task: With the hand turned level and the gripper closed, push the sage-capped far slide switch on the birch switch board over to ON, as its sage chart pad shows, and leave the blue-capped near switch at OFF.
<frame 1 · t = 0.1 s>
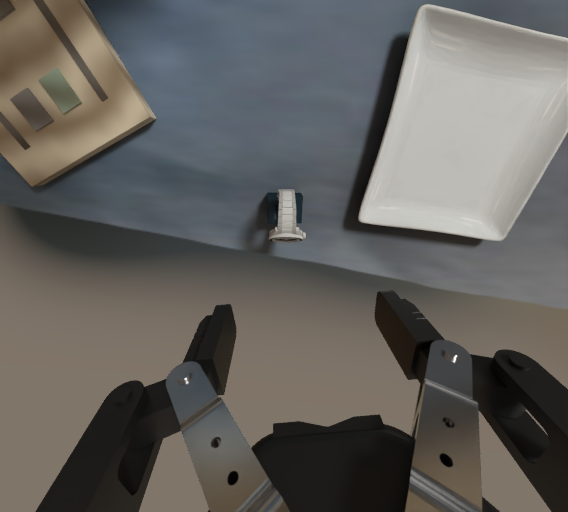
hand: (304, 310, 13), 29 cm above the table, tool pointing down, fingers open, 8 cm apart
watch: (284, 205, 40), on the table
switch board: (29, 62, 30), on the table
square plate: (453, 146, 37), on the table
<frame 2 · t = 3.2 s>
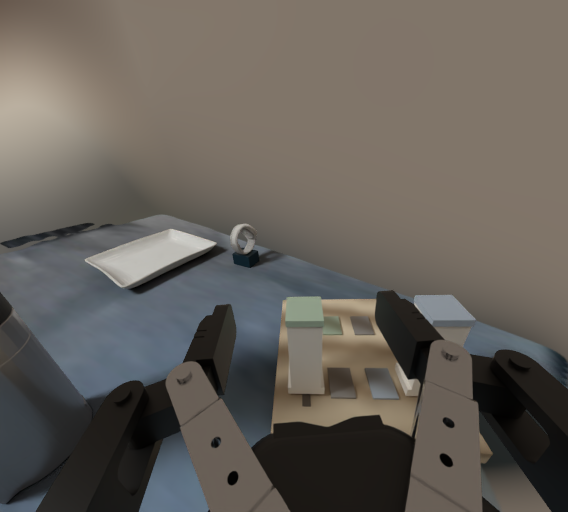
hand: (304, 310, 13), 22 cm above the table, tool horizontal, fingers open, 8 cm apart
watch: (247, 262, 64), on the table
switch board: (351, 360, 35), on the table
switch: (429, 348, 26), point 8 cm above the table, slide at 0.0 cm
square plate: (156, 261, 70), on the table
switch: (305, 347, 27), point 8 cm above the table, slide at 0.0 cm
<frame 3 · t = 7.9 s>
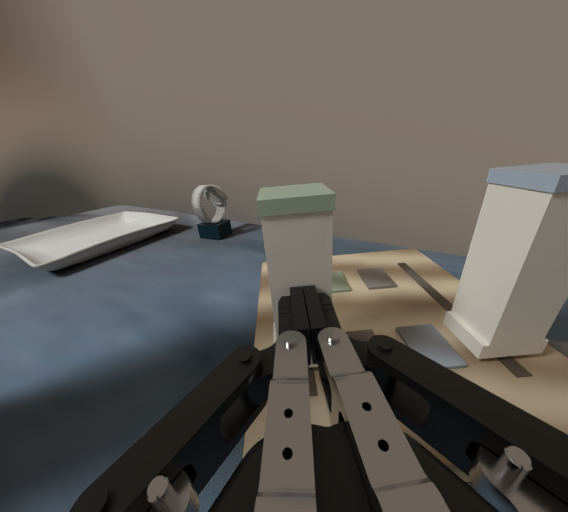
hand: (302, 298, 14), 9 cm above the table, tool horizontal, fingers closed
watch: (216, 236, 52), on the table
switch board: (368, 324, 23), on the table
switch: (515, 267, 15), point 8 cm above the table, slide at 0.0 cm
square plate: (100, 244, 54), on the table
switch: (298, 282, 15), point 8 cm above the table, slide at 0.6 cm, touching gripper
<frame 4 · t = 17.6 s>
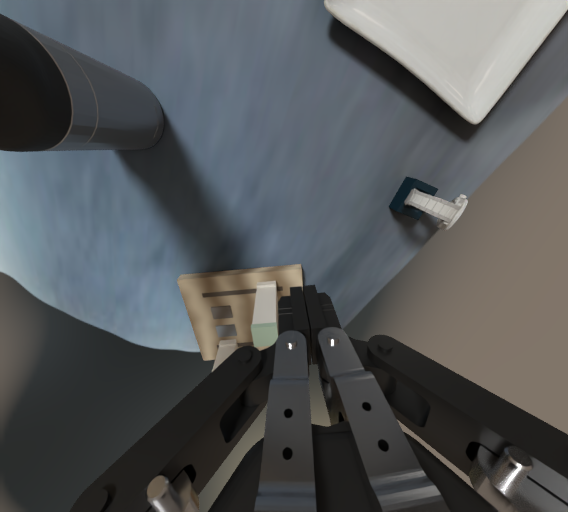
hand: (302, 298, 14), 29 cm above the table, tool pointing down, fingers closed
watch: (407, 196, 40), on the table
switch board: (248, 313, 50), on the table
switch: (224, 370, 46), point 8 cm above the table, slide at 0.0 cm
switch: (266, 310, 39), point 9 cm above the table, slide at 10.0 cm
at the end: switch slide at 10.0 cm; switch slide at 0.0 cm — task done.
